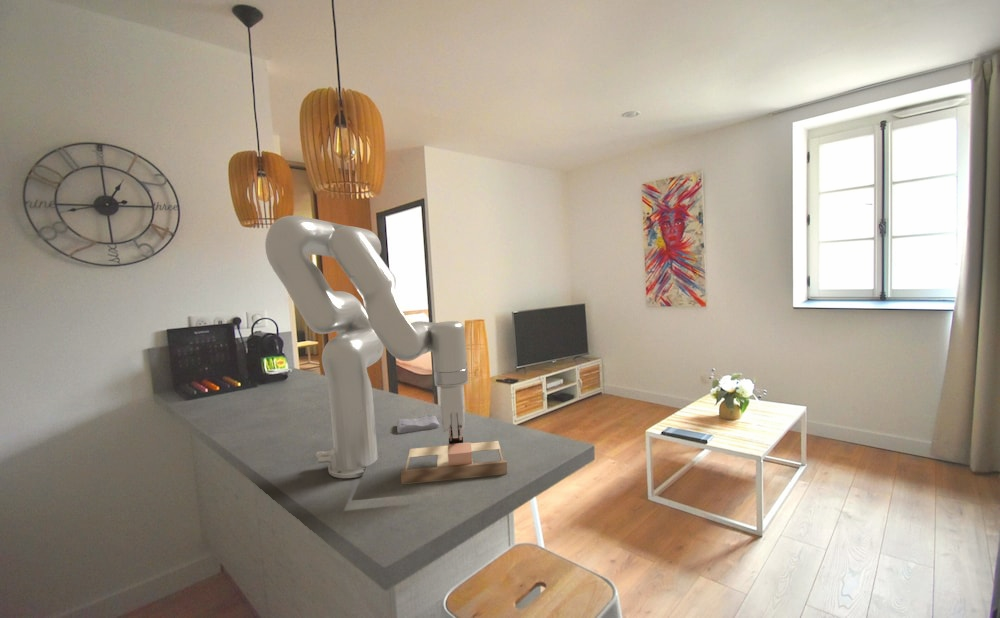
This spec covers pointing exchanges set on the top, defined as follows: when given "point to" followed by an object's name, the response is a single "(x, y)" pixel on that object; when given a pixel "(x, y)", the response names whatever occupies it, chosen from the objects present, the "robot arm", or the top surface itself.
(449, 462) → the terracotta block
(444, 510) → the top surface
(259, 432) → the top surface
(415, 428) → the stone block
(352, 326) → the robot arm
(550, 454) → the top surface
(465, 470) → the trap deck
